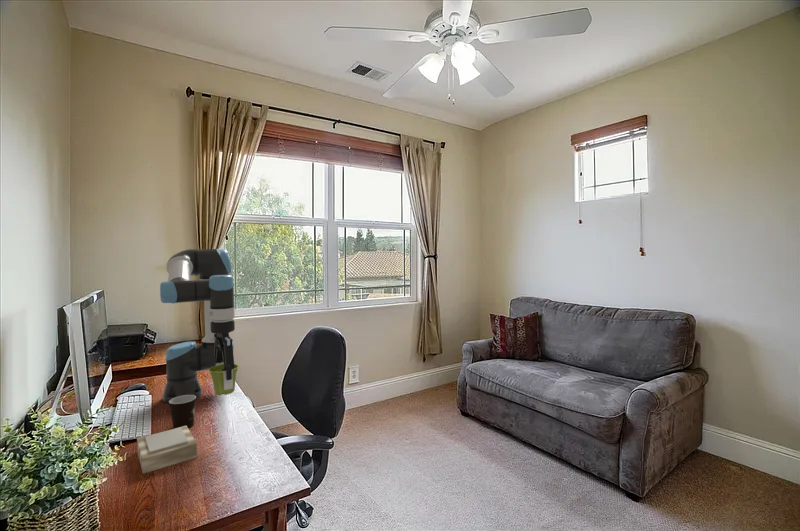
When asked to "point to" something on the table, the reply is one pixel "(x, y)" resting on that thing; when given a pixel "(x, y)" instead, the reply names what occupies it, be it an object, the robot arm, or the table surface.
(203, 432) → the table surface
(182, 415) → the coffee mug
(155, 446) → the wooden stand
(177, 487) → the table surface
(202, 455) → the table surface
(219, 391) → the plant pot
